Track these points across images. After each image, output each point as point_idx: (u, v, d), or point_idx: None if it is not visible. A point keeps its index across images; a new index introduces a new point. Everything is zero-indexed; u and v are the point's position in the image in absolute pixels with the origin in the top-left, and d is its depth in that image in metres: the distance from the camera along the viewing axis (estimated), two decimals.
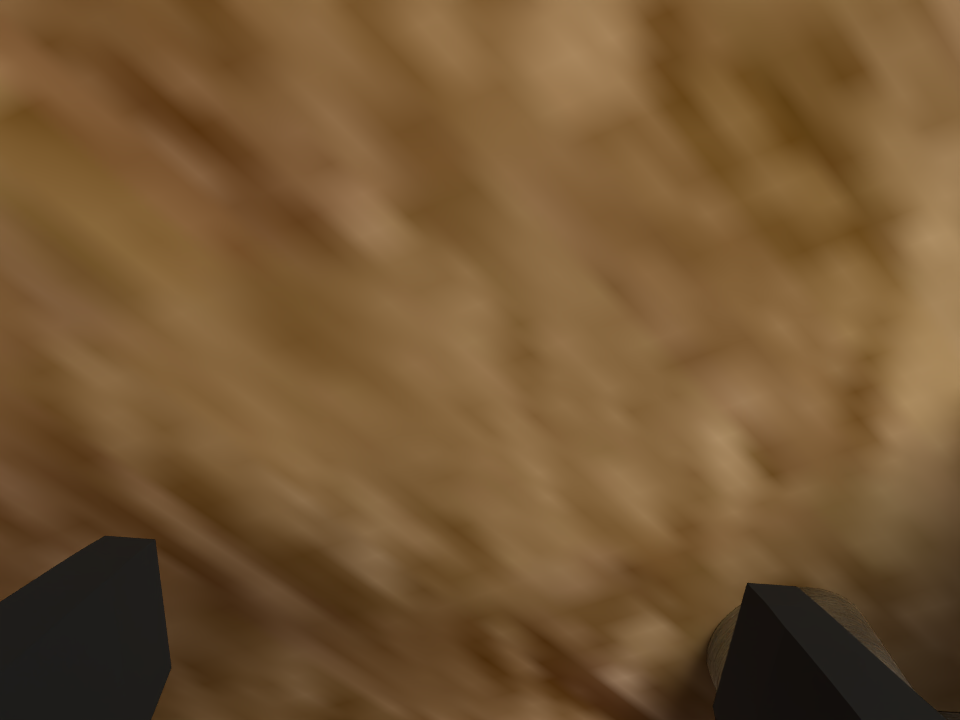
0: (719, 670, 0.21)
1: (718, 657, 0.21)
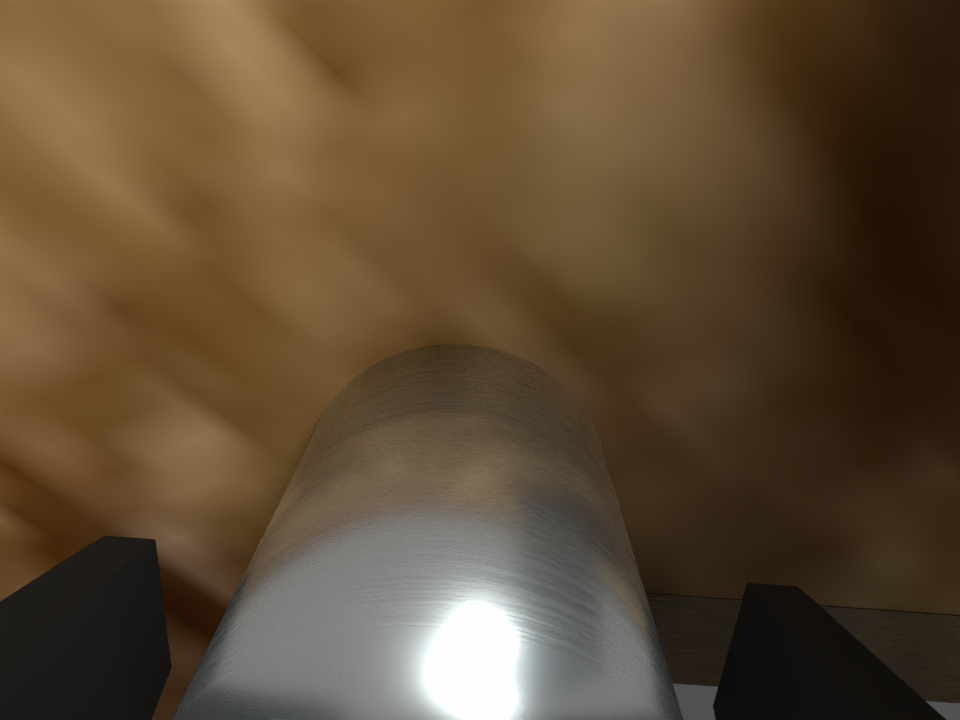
0: None
1: None
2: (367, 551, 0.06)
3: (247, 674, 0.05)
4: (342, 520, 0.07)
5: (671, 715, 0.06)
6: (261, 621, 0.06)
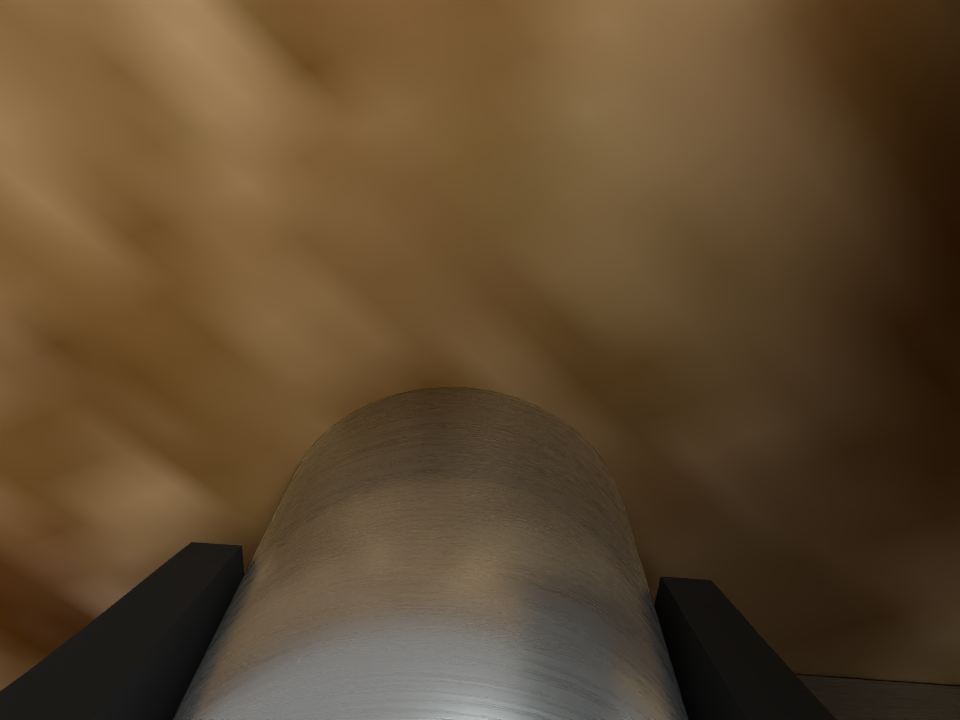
0: None
1: None
2: (328, 717, 0.05)
3: None
4: (300, 657, 0.05)
5: None
6: None
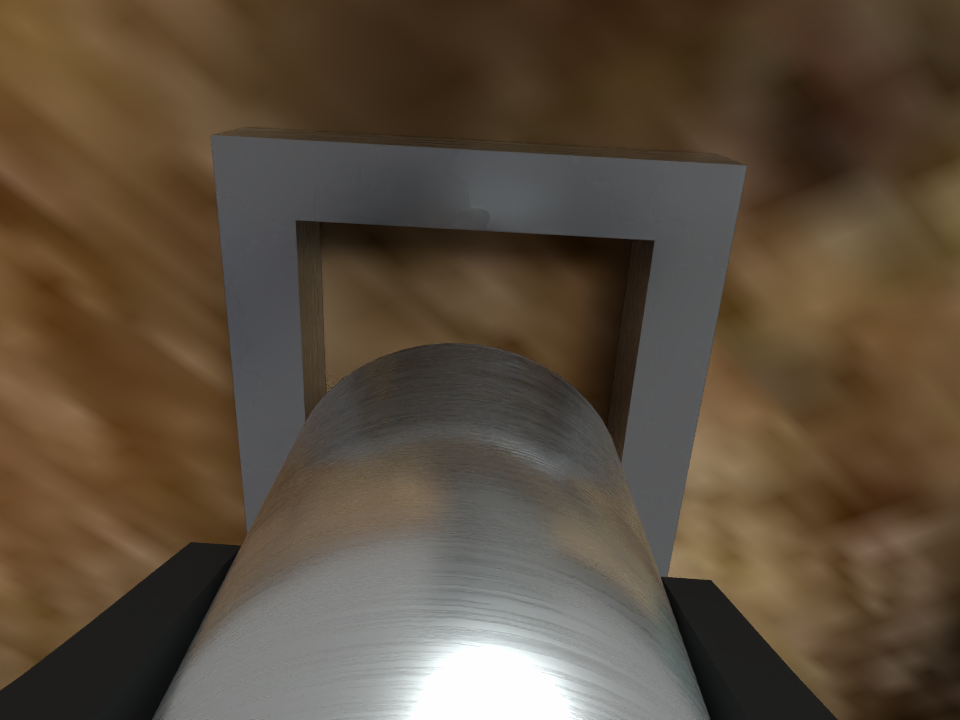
0: None
1: None
2: (312, 613, 0.05)
3: None
4: (290, 574, 0.06)
5: None
6: (183, 715, 0.05)
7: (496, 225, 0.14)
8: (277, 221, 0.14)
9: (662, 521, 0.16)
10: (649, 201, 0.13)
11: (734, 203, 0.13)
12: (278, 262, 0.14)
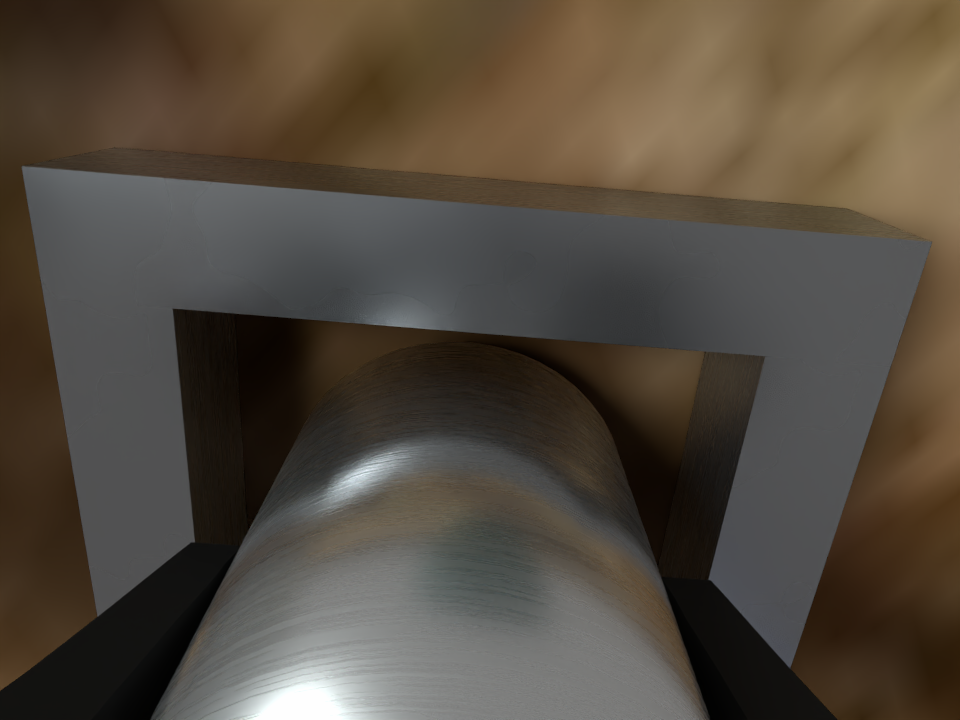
0: None
1: None
2: (313, 609, 0.05)
3: None
4: (289, 570, 0.06)
5: None
6: (183, 709, 0.05)
7: (185, 527, 0.09)
8: None
9: (744, 257, 0.08)
10: (111, 320, 0.08)
11: (90, 179, 0.08)
12: None
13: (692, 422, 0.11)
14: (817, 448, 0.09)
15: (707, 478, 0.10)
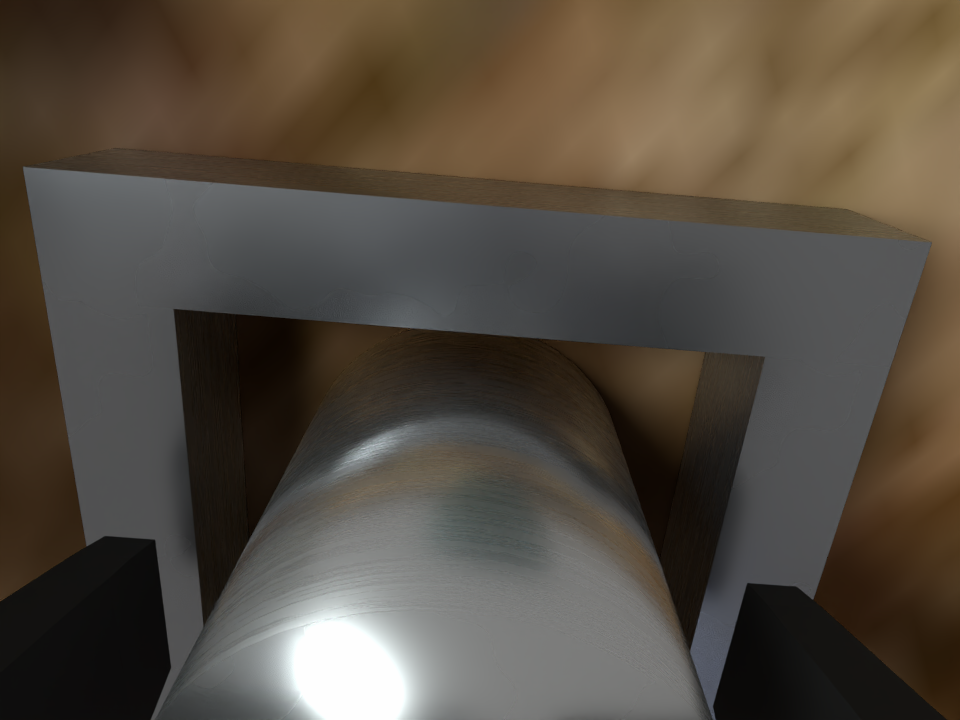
0: None
1: None
2: (340, 539, 0.06)
3: (215, 676, 0.05)
4: (319, 509, 0.06)
5: (684, 689, 0.05)
6: (231, 620, 0.06)
7: (185, 526, 0.09)
8: None
9: (744, 258, 0.08)
10: (112, 321, 0.08)
11: (91, 180, 0.08)
12: None
13: (692, 422, 0.11)
14: (817, 448, 0.09)
15: (707, 478, 0.10)
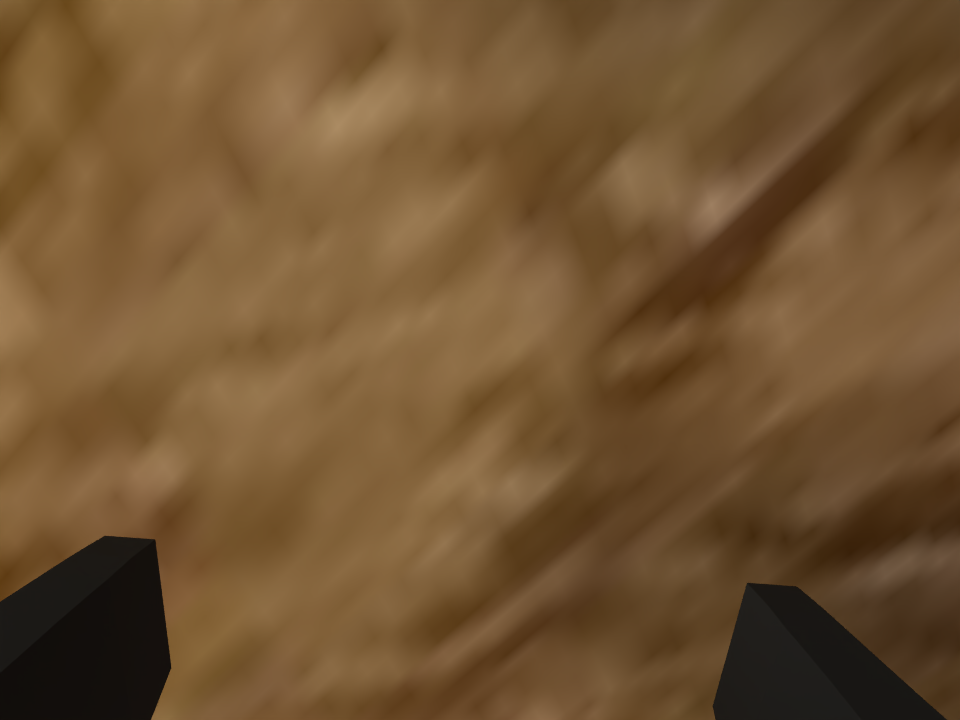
0: None
1: None
2: None
3: None
4: None
5: None
6: None
7: None
8: None
9: None
10: None
11: None
12: None
13: None
14: None
15: None
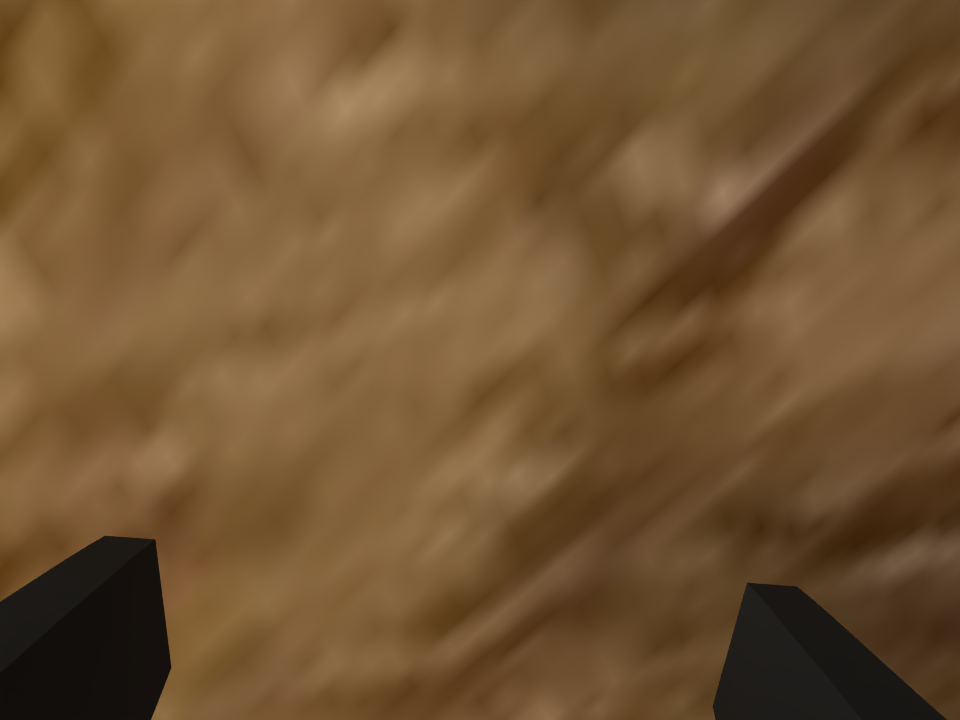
0: None
1: None
2: None
3: None
4: None
5: None
6: None
7: None
8: None
9: None
10: None
11: None
12: None
13: None
14: None
15: None
